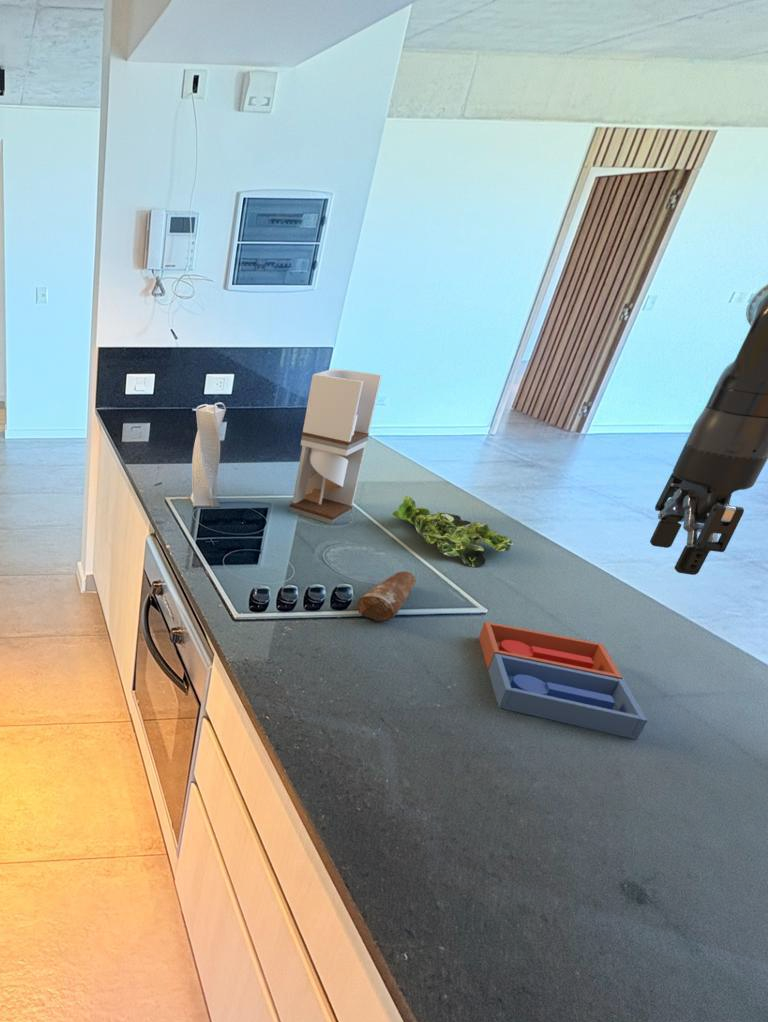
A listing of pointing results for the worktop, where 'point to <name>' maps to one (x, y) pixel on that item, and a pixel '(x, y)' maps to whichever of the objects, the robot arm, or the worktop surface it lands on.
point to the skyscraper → (206, 456)
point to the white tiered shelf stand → (334, 442)
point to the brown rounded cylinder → (387, 597)
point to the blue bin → (617, 721)
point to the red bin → (546, 647)
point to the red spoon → (545, 654)
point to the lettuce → (452, 533)
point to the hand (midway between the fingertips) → (671, 558)
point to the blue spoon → (562, 691)
